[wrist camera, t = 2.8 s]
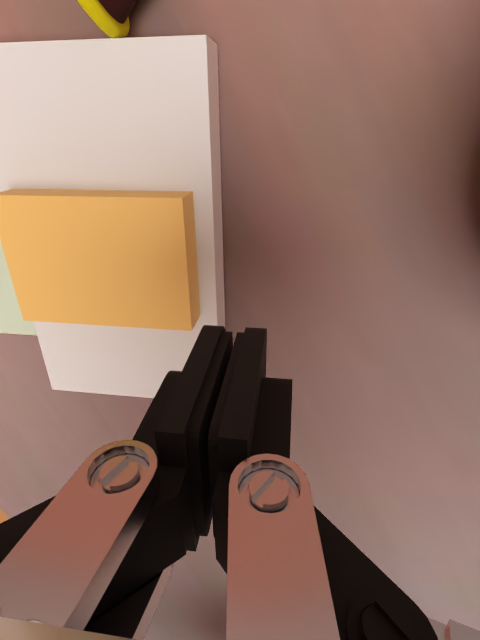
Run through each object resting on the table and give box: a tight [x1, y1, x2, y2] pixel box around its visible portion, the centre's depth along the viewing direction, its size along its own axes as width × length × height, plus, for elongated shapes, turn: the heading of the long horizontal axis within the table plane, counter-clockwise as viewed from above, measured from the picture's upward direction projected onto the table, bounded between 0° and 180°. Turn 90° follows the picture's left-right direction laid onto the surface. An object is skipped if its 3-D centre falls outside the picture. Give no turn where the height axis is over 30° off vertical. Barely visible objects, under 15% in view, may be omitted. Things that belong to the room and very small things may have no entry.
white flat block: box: [0, 35, 225, 398], centre depth 23 cm, size 20×12×2 cm, turn 1°
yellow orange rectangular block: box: [0, 189, 200, 331], centre depth 21 cm, size 7×10×2 cm
